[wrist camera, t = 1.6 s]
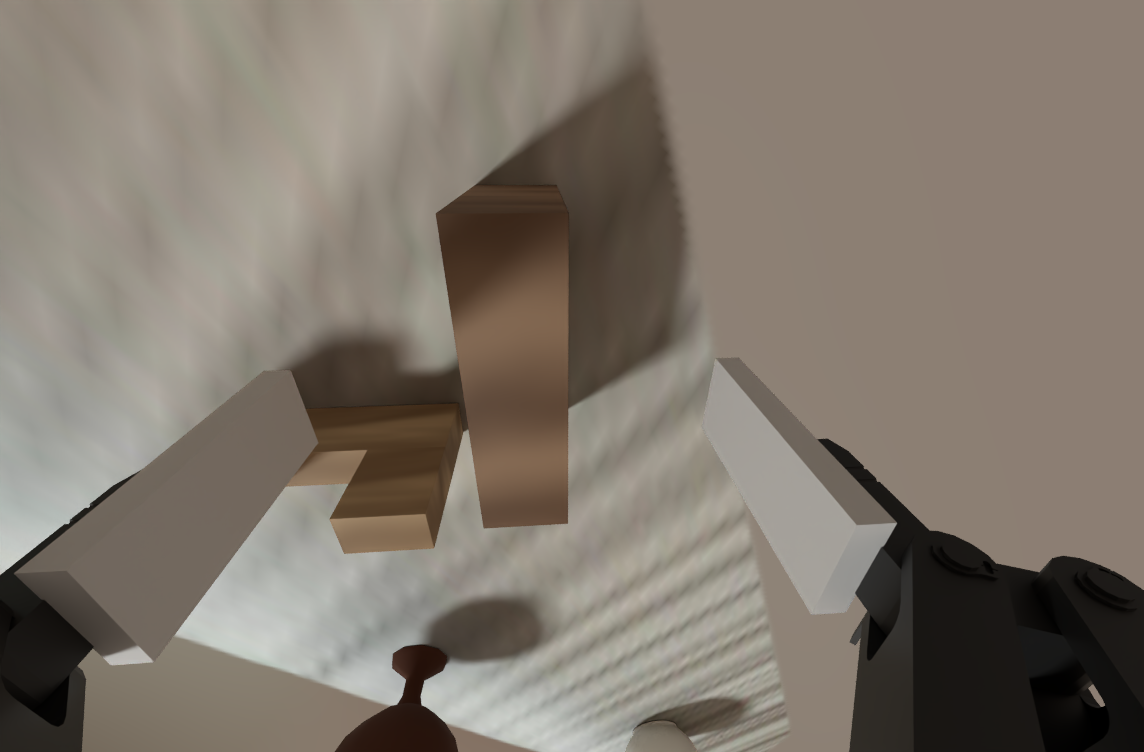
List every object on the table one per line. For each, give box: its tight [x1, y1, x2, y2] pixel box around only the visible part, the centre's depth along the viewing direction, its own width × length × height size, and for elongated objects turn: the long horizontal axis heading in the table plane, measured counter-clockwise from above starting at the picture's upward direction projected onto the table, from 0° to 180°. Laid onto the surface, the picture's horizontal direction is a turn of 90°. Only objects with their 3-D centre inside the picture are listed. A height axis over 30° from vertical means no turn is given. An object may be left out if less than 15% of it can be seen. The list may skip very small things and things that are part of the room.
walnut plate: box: [436, 185, 569, 528], centre depth 20 cm, size 14×4×9 cm, turn 0°
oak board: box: [286, 403, 463, 554], centre depth 22 cm, size 2×14×9 cm, turn 89°
